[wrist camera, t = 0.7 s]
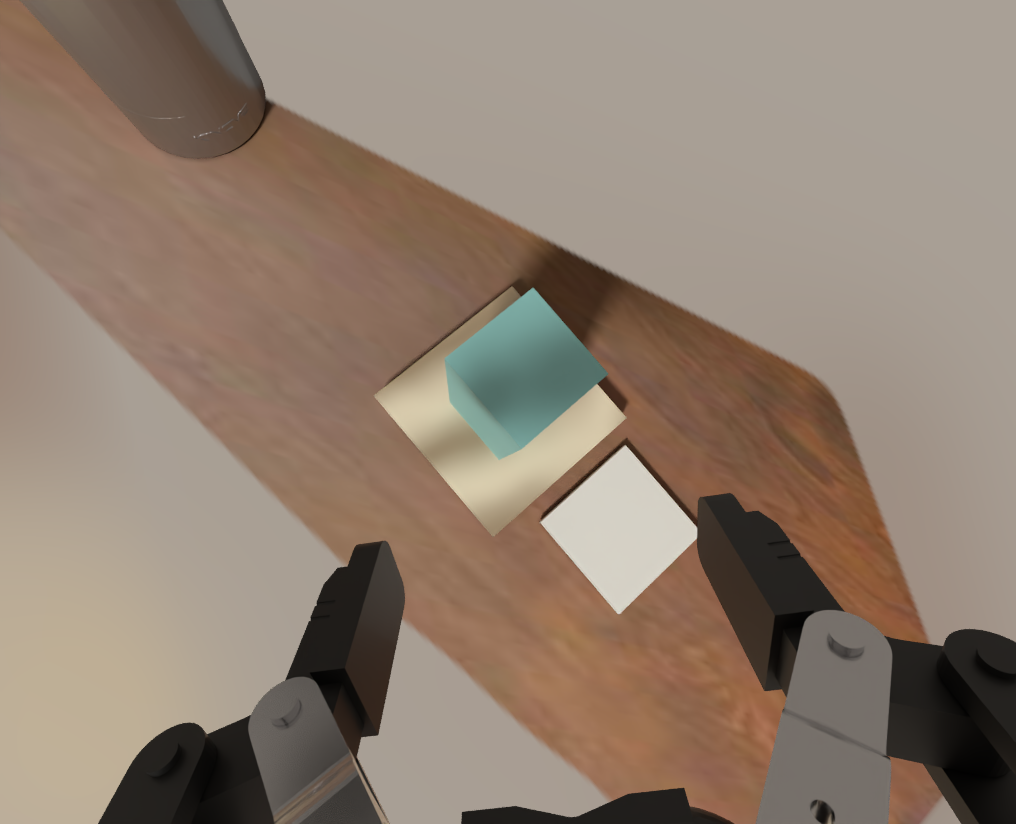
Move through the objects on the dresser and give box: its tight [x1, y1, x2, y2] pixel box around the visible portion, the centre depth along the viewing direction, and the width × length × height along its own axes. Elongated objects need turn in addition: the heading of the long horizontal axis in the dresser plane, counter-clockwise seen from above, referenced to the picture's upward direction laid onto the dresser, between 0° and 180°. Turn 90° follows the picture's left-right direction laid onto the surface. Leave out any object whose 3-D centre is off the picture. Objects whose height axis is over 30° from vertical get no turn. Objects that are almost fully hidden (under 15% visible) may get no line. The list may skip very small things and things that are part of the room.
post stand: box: [374, 287, 626, 537], centre depth 31 cm, size 12×12×6 cm
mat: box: [539, 445, 697, 614], centre depth 34 cm, size 8×8×1 cm
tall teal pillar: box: [444, 288, 608, 460], centre depth 27 cm, size 5×5×12 cm
